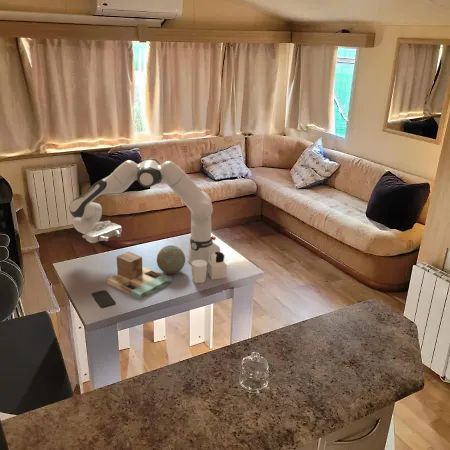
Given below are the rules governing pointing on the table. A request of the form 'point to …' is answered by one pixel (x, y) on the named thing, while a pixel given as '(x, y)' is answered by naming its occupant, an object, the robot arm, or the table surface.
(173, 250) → the decorative sphere
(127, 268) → the walnut block
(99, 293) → the phone
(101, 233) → the robot arm
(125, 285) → the board
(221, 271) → the container
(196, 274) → the white cup
